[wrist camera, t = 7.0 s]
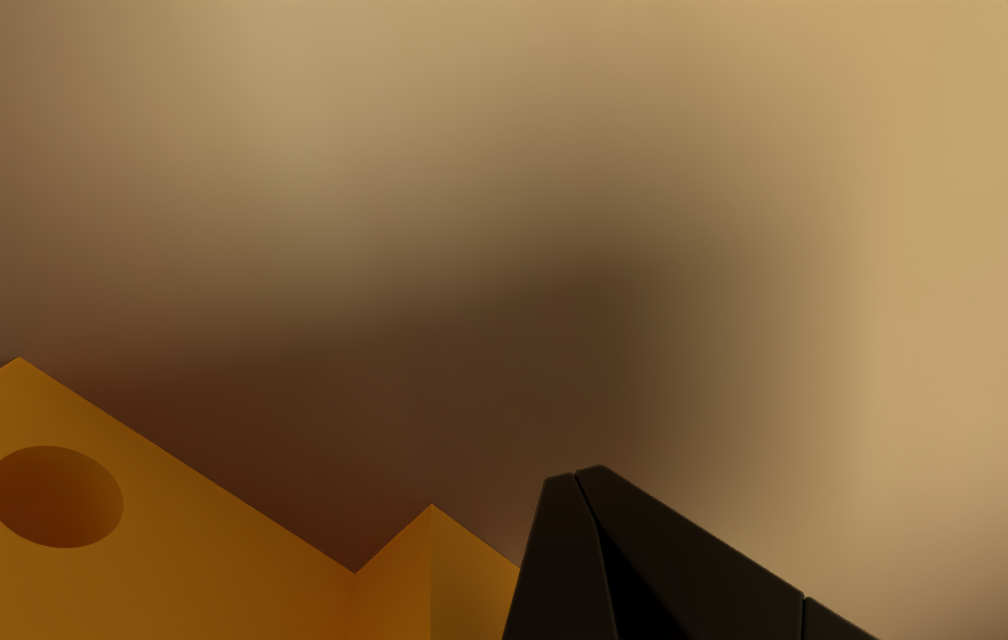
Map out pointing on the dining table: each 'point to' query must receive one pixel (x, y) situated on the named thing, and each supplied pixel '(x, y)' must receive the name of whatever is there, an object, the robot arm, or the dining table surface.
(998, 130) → the dining table surface
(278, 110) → the dining table surface
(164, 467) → the pipe clamp
